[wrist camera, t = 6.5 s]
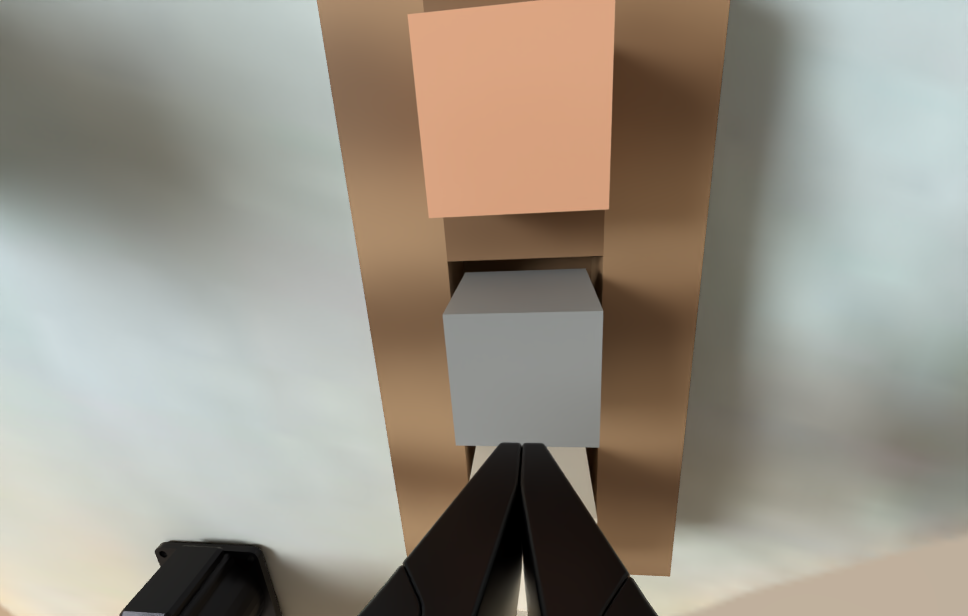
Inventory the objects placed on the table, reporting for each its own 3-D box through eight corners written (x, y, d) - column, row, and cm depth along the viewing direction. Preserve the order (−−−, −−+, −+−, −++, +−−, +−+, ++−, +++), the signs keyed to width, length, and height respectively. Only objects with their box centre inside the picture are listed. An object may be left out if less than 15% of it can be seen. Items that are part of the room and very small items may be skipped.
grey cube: (584, 376, 16) (599, 447, 12) (473, 377, 16) (455, 445, 13) (585, 268, 15) (603, 311, 11) (465, 272, 15) (442, 314, 11)
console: (646, 502, 22) (669, 576, 18) (428, 496, 23) (408, 564, 20) (686, -32, 15) (740, -93, 11) (363, 4, 16) (310, -39, 12)
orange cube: (588, 191, 13) (609, 209, 10) (457, 198, 14) (428, 218, 10) (590, 39, 12) (615, -8, 8) (445, 53, 13) (407, 14, 9)
